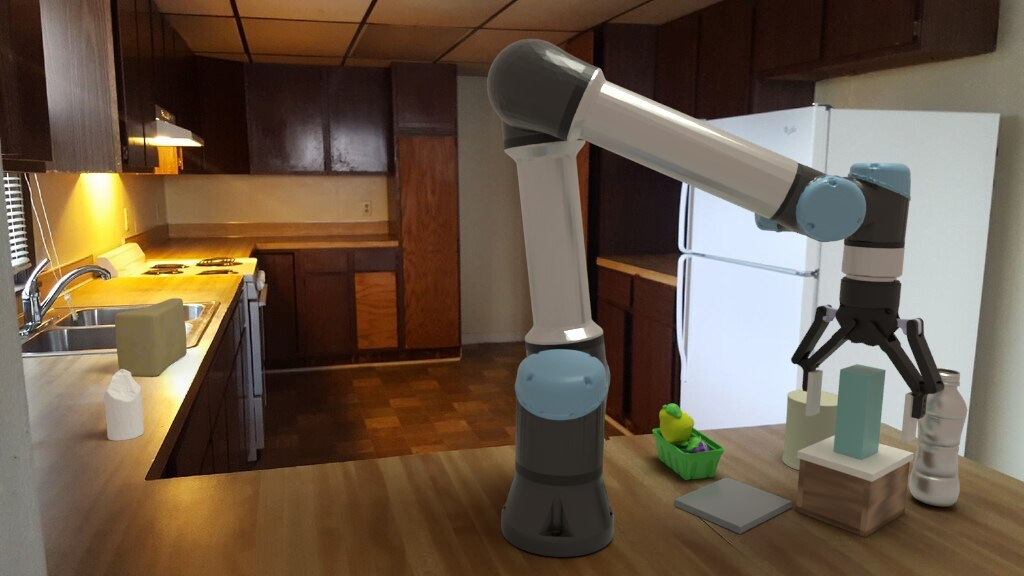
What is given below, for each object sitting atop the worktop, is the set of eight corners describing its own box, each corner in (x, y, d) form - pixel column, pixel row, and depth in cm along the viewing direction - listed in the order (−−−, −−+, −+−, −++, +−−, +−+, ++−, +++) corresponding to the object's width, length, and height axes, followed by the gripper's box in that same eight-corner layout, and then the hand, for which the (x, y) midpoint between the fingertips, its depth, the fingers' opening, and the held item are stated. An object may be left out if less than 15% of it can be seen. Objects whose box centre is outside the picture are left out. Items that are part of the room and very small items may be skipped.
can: (778, 467, 124) (783, 397, 122) (786, 449, 132) (791, 383, 130) (838, 478, 119) (845, 406, 118) (843, 459, 128) (849, 391, 126)
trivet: (739, 534, 100) (740, 527, 100) (673, 505, 109) (674, 499, 108) (791, 507, 109) (791, 501, 108) (726, 483, 117) (726, 477, 117)
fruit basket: (725, 479, 118) (729, 410, 117) (675, 485, 116) (678, 415, 114) (689, 453, 129) (692, 390, 128) (642, 458, 127) (645, 394, 125)
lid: (871, 490, 98) (881, 385, 96) (796, 465, 106) (803, 368, 104) (912, 467, 106) (922, 370, 104) (839, 446, 115) (847, 355, 112)
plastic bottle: (933, 514, 107) (947, 378, 104) (896, 495, 114) (909, 366, 111) (968, 509, 109) (984, 376, 106) (931, 490, 115) (944, 364, 112)
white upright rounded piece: (109, 376, 128) (96, 370, 132) (114, 443, 130) (101, 435, 133) (145, 369, 132) (132, 364, 136) (149, 434, 134) (136, 427, 138)
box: (865, 537, 100) (870, 480, 99) (795, 511, 107) (800, 457, 106) (904, 512, 108) (909, 459, 106) (837, 489, 115) (841, 439, 114)
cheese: (165, 353, 194) (162, 296, 191) (202, 354, 193) (199, 297, 191) (116, 376, 172) (112, 312, 170) (158, 377, 171) (154, 312, 169)
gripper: (983, 286, 95) (965, 445, 99) (800, 266, 114) (790, 400, 117) (960, 291, 91) (942, 458, 94) (773, 269, 109) (763, 409, 113)
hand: (857, 426), depth 106 cm, fingers open, 13 cm apart
